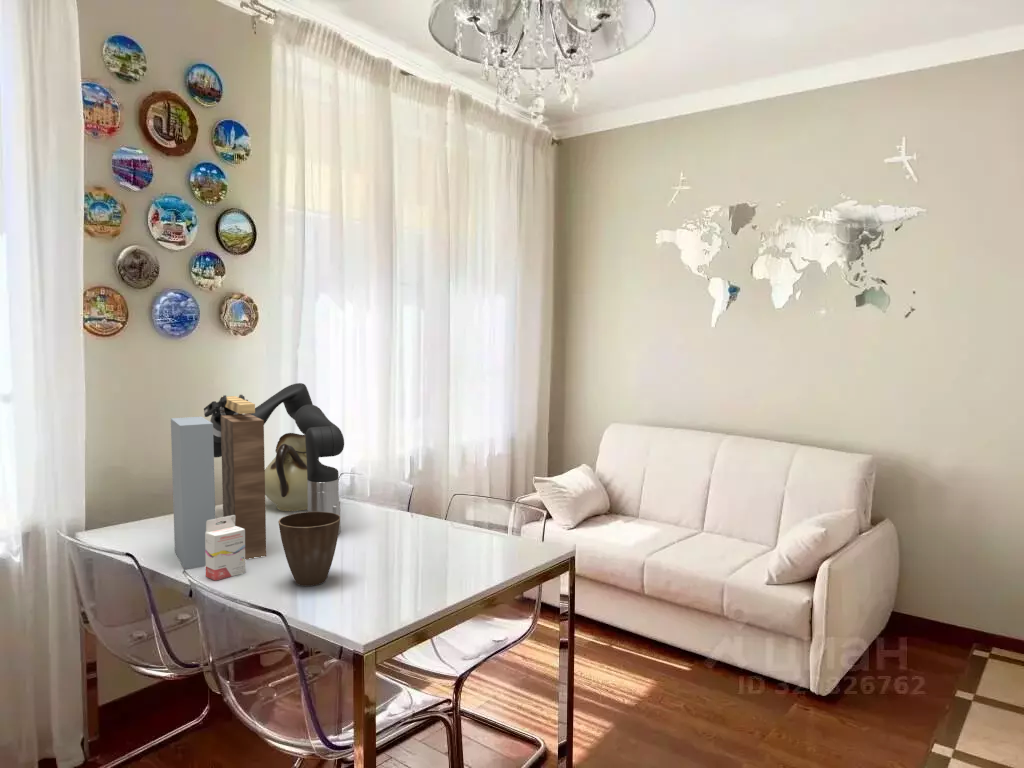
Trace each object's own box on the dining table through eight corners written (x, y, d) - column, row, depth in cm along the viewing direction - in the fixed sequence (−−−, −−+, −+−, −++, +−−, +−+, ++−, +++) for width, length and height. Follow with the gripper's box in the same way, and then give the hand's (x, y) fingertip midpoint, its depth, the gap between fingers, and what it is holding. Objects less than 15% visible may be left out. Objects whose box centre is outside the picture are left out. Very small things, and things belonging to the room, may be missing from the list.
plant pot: (268, 580, 184) (267, 518, 183) (321, 566, 195) (320, 507, 193) (298, 596, 174) (297, 531, 172) (352, 581, 184) (351, 519, 183)
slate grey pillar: (174, 552, 205) (170, 418, 202) (205, 548, 209) (201, 416, 206) (184, 569, 192) (180, 425, 188) (216, 564, 196) (212, 423, 193)
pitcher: (312, 496, 272) (311, 429, 269) (341, 509, 253) (339, 438, 251) (252, 505, 258) (250, 435, 255) (277, 520, 240) (275, 445, 237)
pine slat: (221, 405, 217) (221, 396, 217) (235, 404, 219) (235, 396, 219) (239, 413, 197) (239, 404, 197) (255, 413, 199) (254, 403, 199)
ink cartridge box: (215, 581, 183) (213, 524, 182) (205, 577, 186) (203, 520, 185) (246, 572, 190) (245, 517, 188) (236, 568, 193) (235, 513, 192)
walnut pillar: (223, 545, 212) (220, 415, 209) (252, 541, 216) (249, 413, 213) (236, 561, 199) (233, 422, 195) (266, 556, 203) (263, 420, 200)
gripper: (197, 411, 222) (206, 387, 209) (245, 408, 230) (257, 385, 217) (200, 434, 220) (209, 411, 207) (249, 430, 228) (260, 408, 214)
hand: (233, 398), depth 212 cm, fingers closed on pine slat, 4 cm apart
